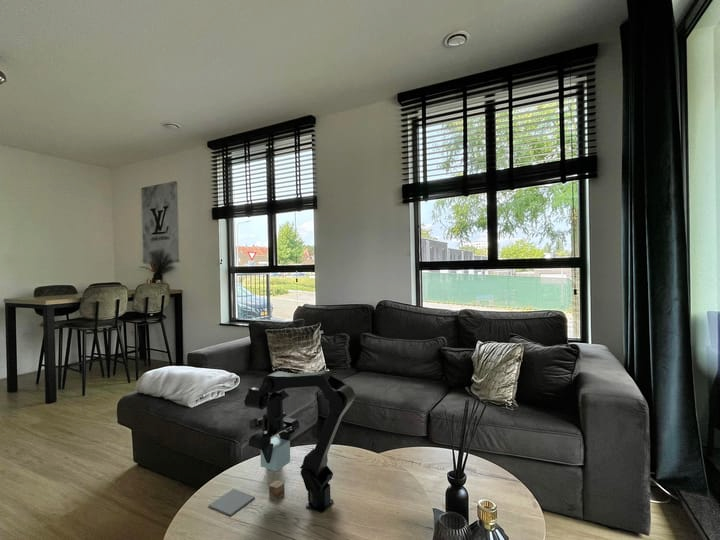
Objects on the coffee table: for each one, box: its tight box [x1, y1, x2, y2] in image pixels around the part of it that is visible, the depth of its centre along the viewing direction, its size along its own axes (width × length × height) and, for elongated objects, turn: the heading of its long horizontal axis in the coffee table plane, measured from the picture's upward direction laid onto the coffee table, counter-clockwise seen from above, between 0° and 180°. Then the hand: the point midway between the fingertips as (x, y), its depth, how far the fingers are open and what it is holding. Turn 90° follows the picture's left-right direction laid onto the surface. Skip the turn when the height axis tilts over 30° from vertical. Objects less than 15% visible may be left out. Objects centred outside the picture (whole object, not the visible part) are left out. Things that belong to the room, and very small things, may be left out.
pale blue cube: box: [260, 437, 291, 472], centre depth 122 cm, size 7×7×7 cm
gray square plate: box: [208, 488, 256, 517], centre depth 118 cm, size 10×10×1 cm
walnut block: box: [268, 479, 285, 500], centre depth 121 cm, size 4×4×4 cm
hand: (275, 458), depth 122 cm, fingers closed on pale blue cube, 7 cm apart
